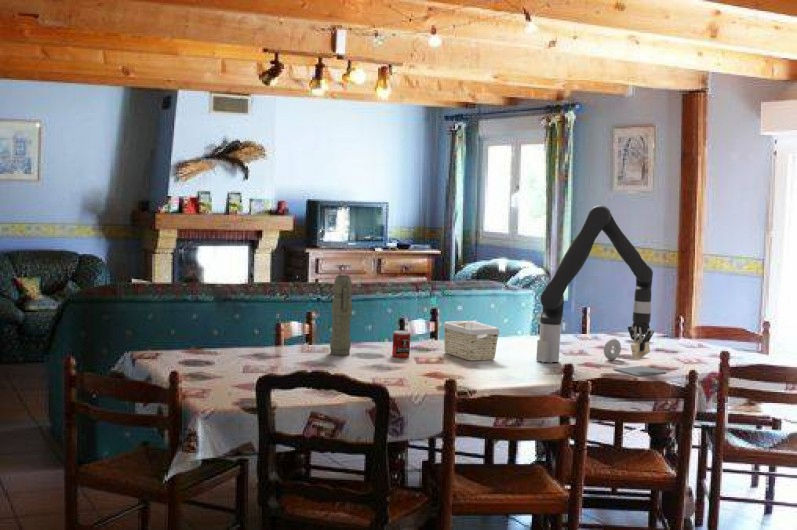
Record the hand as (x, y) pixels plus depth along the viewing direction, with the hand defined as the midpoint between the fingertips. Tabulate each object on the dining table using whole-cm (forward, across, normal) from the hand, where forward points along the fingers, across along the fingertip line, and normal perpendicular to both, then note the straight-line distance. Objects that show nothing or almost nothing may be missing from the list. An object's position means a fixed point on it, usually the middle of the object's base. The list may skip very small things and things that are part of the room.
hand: (639, 350), depth 432 cm
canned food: (+9, -65, -81) cm, 104 cm away
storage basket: (+9, -54, -51) cm, 75 cm away
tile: (+2, 0, +2) cm, 3 cm away
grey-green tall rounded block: (+8, -79, -104) cm, 131 cm away
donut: (+9, -23, +8) cm, 26 cm away
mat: (+9, +2, -1) cm, 9 cm away
